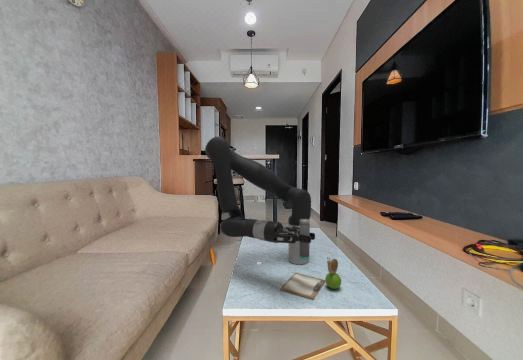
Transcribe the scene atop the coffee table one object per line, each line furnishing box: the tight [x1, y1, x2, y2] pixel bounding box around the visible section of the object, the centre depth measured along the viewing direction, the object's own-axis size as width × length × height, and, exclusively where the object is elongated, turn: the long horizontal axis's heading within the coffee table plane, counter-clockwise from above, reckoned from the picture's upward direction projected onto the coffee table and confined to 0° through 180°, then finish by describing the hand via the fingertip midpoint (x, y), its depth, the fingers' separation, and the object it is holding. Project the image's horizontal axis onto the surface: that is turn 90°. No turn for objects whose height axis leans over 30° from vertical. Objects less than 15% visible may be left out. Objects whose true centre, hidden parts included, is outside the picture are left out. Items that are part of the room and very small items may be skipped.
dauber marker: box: [299, 219, 311, 260], centre depth 77 cm, size 3×3×13 cm
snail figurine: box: [324, 256, 342, 290], centre depth 80 cm, size 5×6×12 cm
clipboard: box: [279, 272, 326, 301], centre depth 82 cm, size 14×12×1 cm
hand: (312, 238), depth 75 cm, fingers closed on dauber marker, 3 cm apart
